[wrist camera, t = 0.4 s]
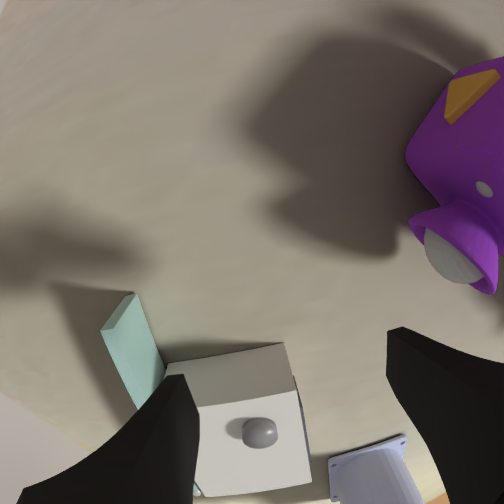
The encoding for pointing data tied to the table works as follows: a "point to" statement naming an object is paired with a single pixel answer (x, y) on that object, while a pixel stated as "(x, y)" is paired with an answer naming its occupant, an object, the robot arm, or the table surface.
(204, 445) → the block
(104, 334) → the side door
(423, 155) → the toy camera
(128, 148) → the table surface
